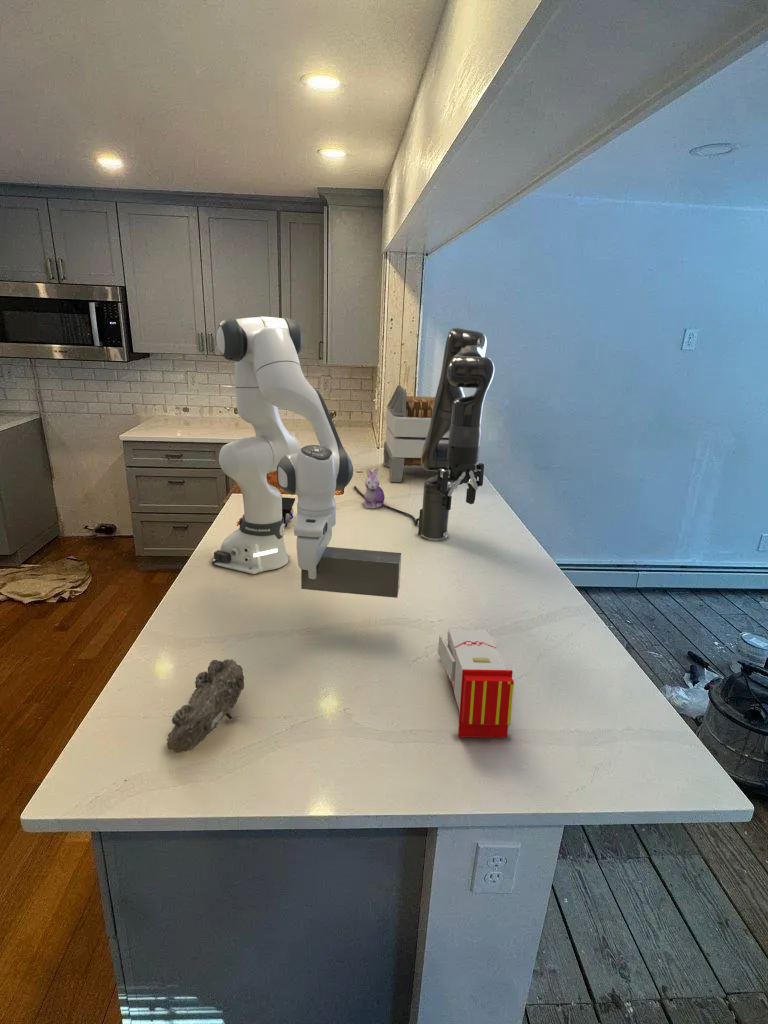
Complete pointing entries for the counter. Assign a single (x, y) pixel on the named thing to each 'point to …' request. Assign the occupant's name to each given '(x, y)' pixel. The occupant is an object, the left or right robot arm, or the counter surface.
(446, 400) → the right robot arm
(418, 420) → the grey crate
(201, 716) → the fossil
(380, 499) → the figurine
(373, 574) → the box
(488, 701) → the toy
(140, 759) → the counter surface
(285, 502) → the figurine character
